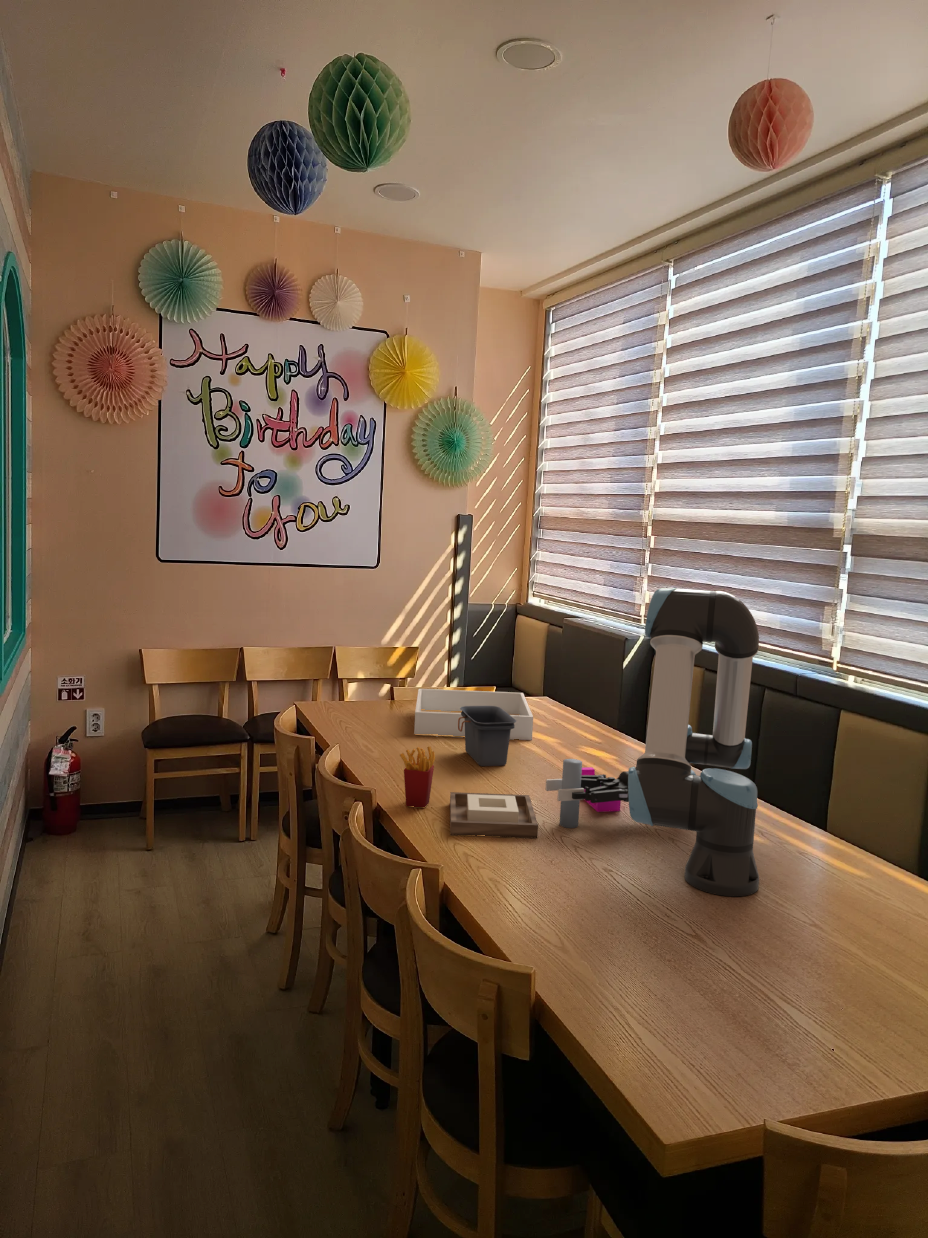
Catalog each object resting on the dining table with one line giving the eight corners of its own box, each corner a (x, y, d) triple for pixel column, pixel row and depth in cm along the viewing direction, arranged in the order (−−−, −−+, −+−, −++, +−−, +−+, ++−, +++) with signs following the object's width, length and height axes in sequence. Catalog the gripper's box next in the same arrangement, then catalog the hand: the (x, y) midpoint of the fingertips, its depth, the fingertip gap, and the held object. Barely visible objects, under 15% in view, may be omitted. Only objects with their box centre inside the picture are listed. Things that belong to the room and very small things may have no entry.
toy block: (620, 811, 235) (621, 783, 234) (597, 812, 234) (599, 784, 233) (599, 793, 250) (600, 767, 249) (577, 794, 248) (579, 767, 247)
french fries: (427, 810, 229) (429, 752, 227) (395, 806, 230) (397, 749, 229) (435, 799, 237) (437, 743, 236) (404, 796, 239) (406, 740, 237)
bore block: (517, 830, 218) (518, 811, 217) (467, 828, 217) (468, 810, 217) (513, 813, 230) (514, 796, 229) (466, 811, 229) (467, 794, 229)
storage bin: (517, 768, 270) (520, 721, 268) (467, 770, 266) (469, 722, 264) (495, 749, 290) (497, 705, 289) (449, 750, 286) (451, 706, 284)
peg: (579, 828, 221) (583, 764, 219) (560, 827, 221) (564, 763, 219) (576, 822, 225) (580, 759, 223) (558, 821, 225) (562, 758, 223)
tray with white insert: (537, 838, 213) (538, 825, 212) (450, 835, 212) (451, 822, 212) (528, 807, 235) (529, 795, 234) (449, 804, 234) (450, 792, 234)
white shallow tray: (532, 740, 304) (533, 716, 303) (414, 735, 303) (415, 712, 302) (522, 713, 343) (523, 692, 342) (417, 709, 342) (418, 688, 341)
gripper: (655, 814, 218) (567, 819, 211) (618, 788, 237) (536, 792, 230) (658, 783, 217) (569, 787, 210) (620, 760, 236) (538, 763, 230)
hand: (552, 790), depth 220 cm, fingers open, 7 cm apart
